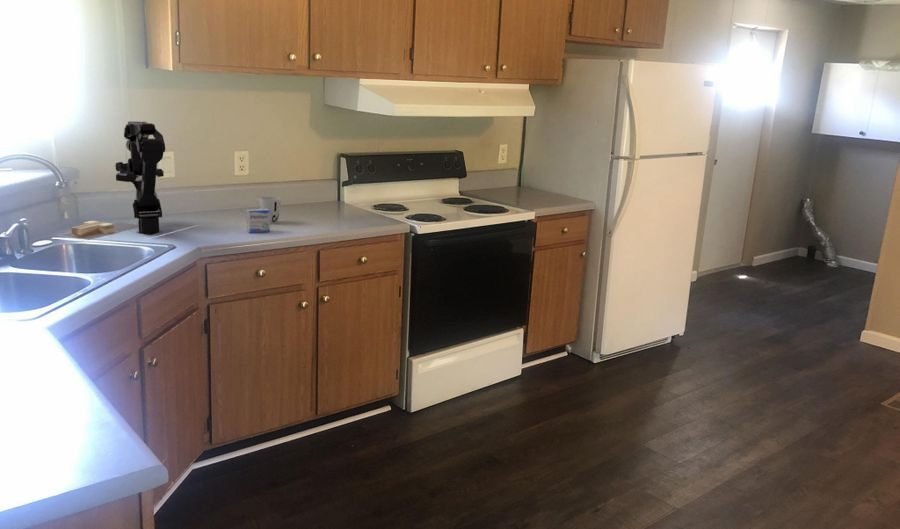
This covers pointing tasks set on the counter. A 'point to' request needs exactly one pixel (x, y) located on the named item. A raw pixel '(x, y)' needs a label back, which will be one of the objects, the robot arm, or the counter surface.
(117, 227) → the mat
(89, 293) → the counter surface
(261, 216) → the medicine box
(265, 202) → the cup
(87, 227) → the t block
